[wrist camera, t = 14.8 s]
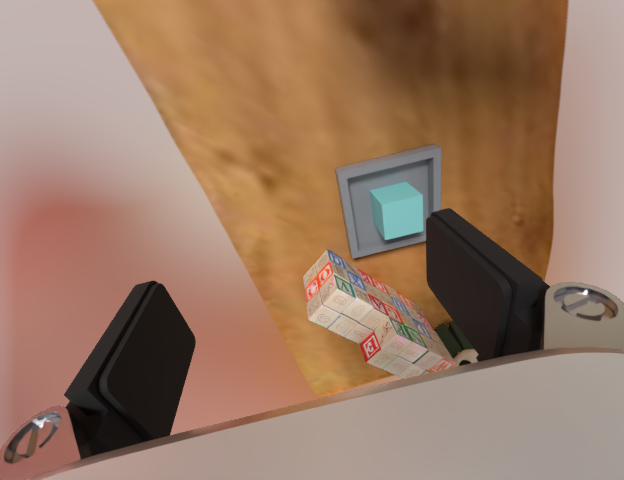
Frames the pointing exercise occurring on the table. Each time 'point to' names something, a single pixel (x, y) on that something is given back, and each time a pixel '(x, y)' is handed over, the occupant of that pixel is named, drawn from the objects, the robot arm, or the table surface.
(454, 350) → the character mug
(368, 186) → the tray
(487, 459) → the robot arm
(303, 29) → the table surface
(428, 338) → the stack of blocks
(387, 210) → the cube
